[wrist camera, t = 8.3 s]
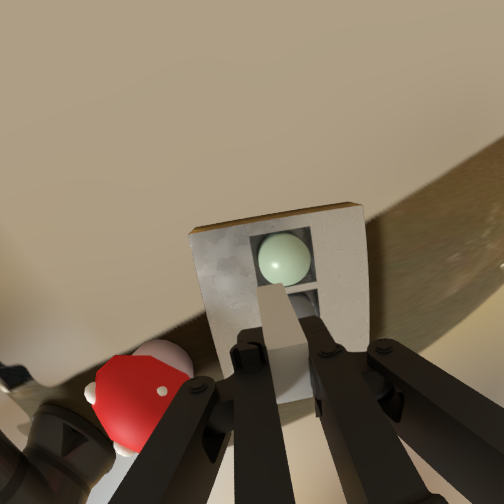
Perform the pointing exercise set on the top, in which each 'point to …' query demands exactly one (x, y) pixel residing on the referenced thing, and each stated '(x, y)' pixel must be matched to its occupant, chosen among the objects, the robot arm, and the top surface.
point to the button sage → (283, 258)
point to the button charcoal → (301, 304)
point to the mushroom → (138, 392)
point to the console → (312, 284)
